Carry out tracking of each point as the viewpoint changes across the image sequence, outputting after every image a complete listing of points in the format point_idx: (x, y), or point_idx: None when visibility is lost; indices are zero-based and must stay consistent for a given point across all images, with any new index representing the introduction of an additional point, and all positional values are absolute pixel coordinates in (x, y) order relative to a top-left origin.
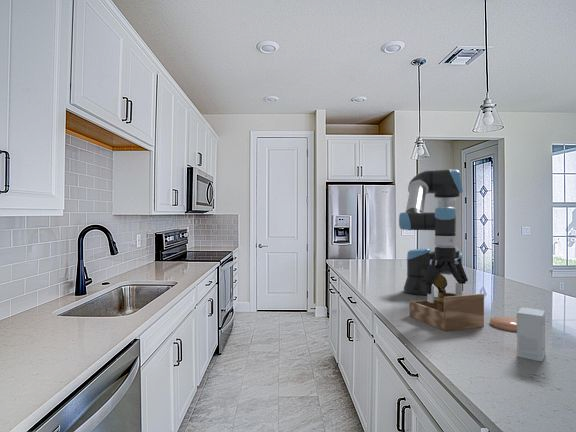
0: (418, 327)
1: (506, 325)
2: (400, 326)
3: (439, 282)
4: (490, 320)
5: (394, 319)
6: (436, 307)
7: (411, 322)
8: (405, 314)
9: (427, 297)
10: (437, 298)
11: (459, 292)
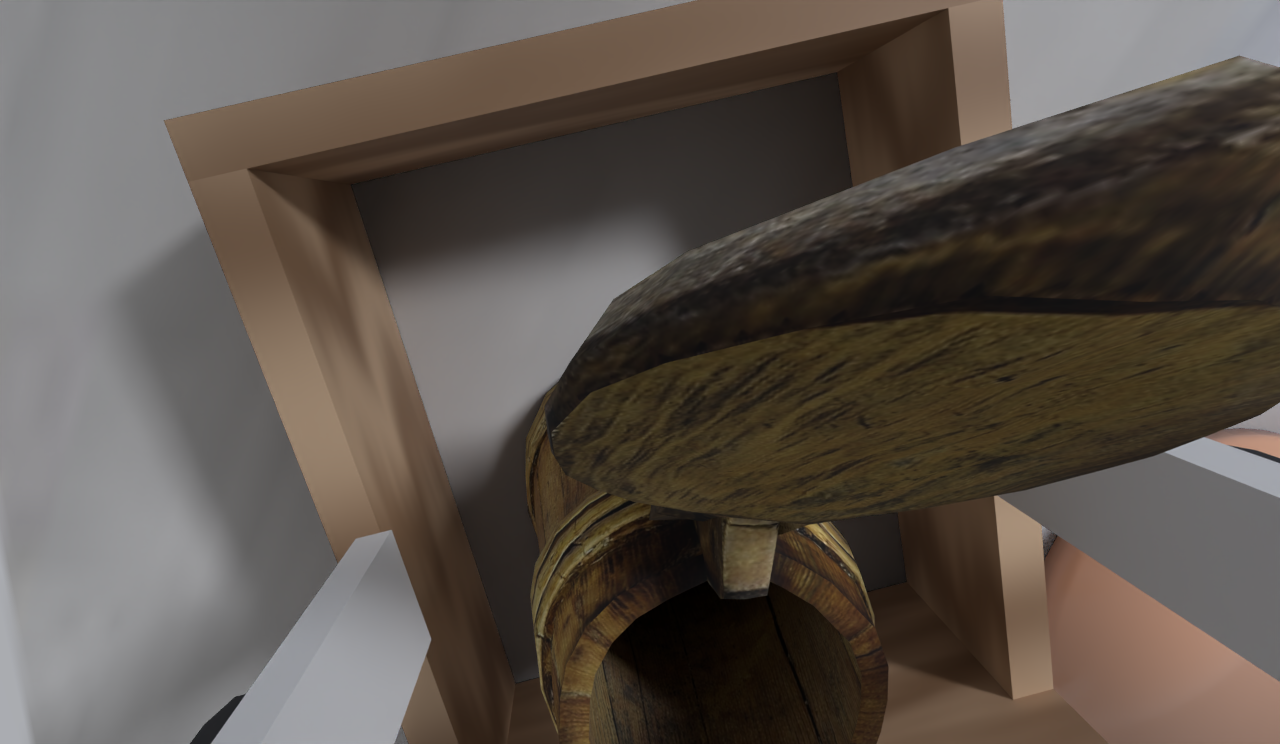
0: (253, 604)
1: (1095, 715)
2: (48, 565)
3: (817, 458)
4: (1084, 560)
5: (30, 289)
6: (742, 78)
7: (230, 430)
8: (263, 52)
9: (326, 580)
10: (558, 546)
11: (1104, 534)
